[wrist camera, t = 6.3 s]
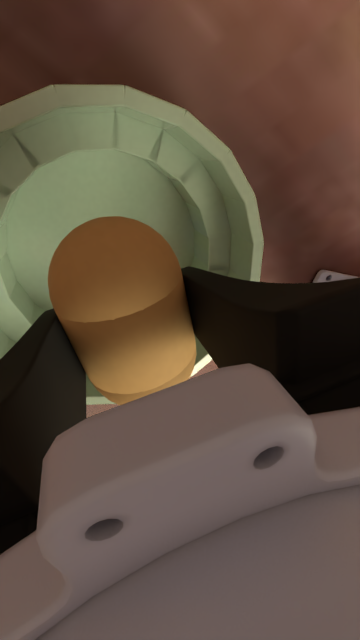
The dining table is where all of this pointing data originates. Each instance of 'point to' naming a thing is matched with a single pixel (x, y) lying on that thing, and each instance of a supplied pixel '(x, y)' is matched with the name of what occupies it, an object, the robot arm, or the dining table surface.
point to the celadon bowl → (114, 191)
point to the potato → (123, 307)
